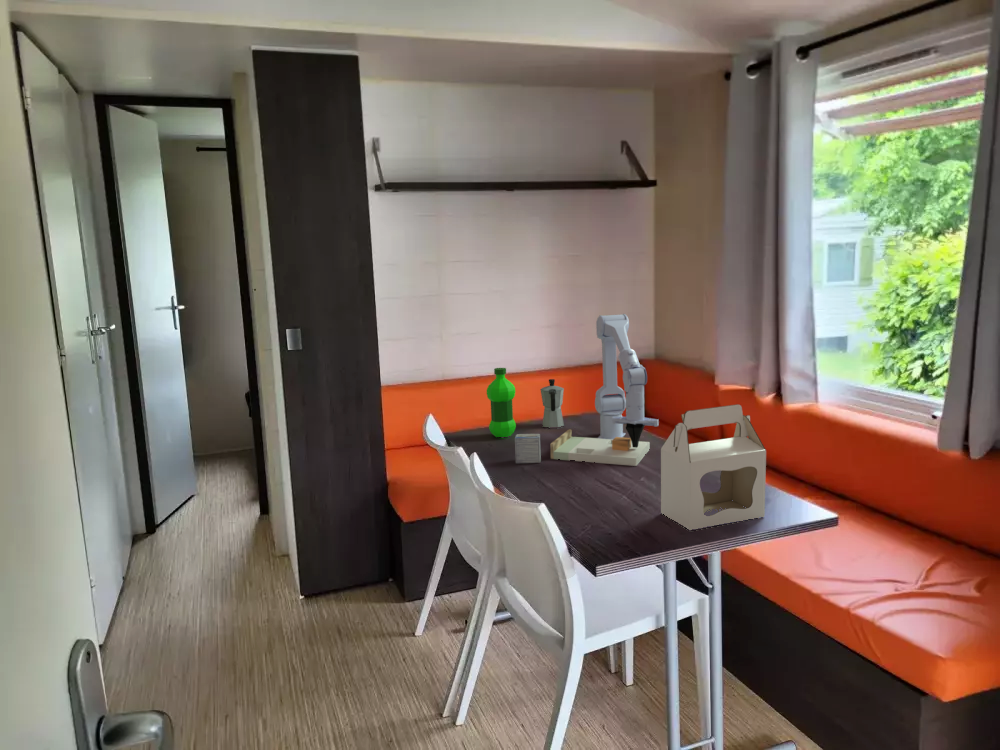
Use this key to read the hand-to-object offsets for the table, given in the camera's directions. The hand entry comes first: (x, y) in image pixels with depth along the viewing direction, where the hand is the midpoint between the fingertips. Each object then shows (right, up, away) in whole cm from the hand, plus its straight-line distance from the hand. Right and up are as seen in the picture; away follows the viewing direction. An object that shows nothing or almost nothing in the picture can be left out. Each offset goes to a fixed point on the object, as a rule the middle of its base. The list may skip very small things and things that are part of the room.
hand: (635, 446), depth 242 cm
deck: (-10, -3, +5) cm, 12 cm away
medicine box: (-34, -5, +1) cm, 35 cm away
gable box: (+10, -13, -51) cm, 54 cm away
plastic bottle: (-42, 0, +32) cm, 53 cm away
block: (-4, -1, +2) cm, 5 cm away
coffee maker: (-23, +3, +43) cm, 49 cm away
